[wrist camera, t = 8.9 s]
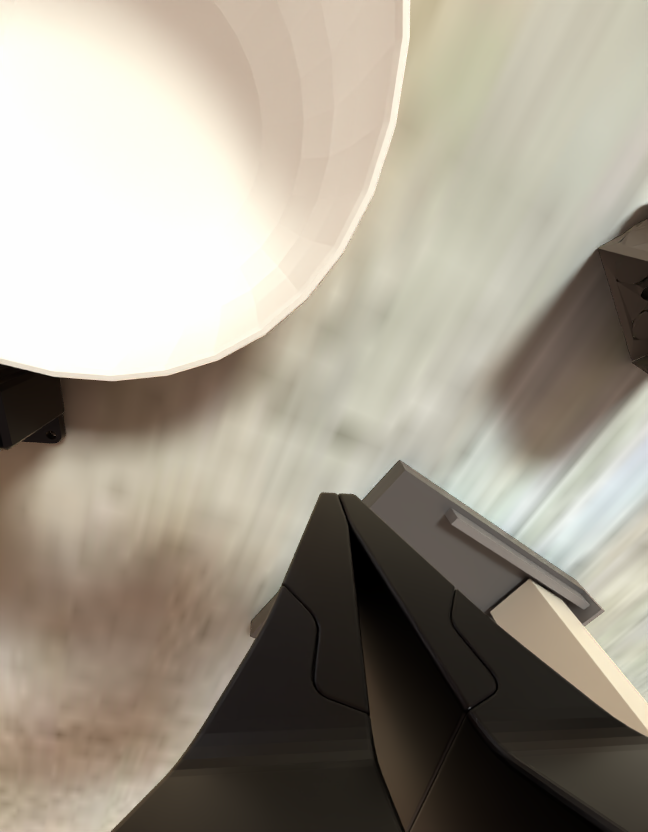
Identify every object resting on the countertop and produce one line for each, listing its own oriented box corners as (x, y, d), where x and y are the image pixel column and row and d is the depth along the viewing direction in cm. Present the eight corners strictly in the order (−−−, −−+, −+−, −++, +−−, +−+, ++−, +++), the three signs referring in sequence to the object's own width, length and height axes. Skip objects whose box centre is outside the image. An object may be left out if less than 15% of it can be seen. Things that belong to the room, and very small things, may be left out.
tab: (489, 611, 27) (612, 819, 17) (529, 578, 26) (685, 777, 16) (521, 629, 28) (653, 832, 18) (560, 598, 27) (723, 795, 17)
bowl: (272, 390, 20) (266, 452, 13) (-121, 244, 15) (-425, 228, 9) (434, -15, 14) (568, -265, 7) (-126, -438, 10) (-1047, -2013, 3)
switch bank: (251, 621, 27) (247, 658, 24) (399, 459, 22) (414, 484, 20) (433, 695, 33) (445, 731, 30) (576, 580, 29) (604, 611, 26)
